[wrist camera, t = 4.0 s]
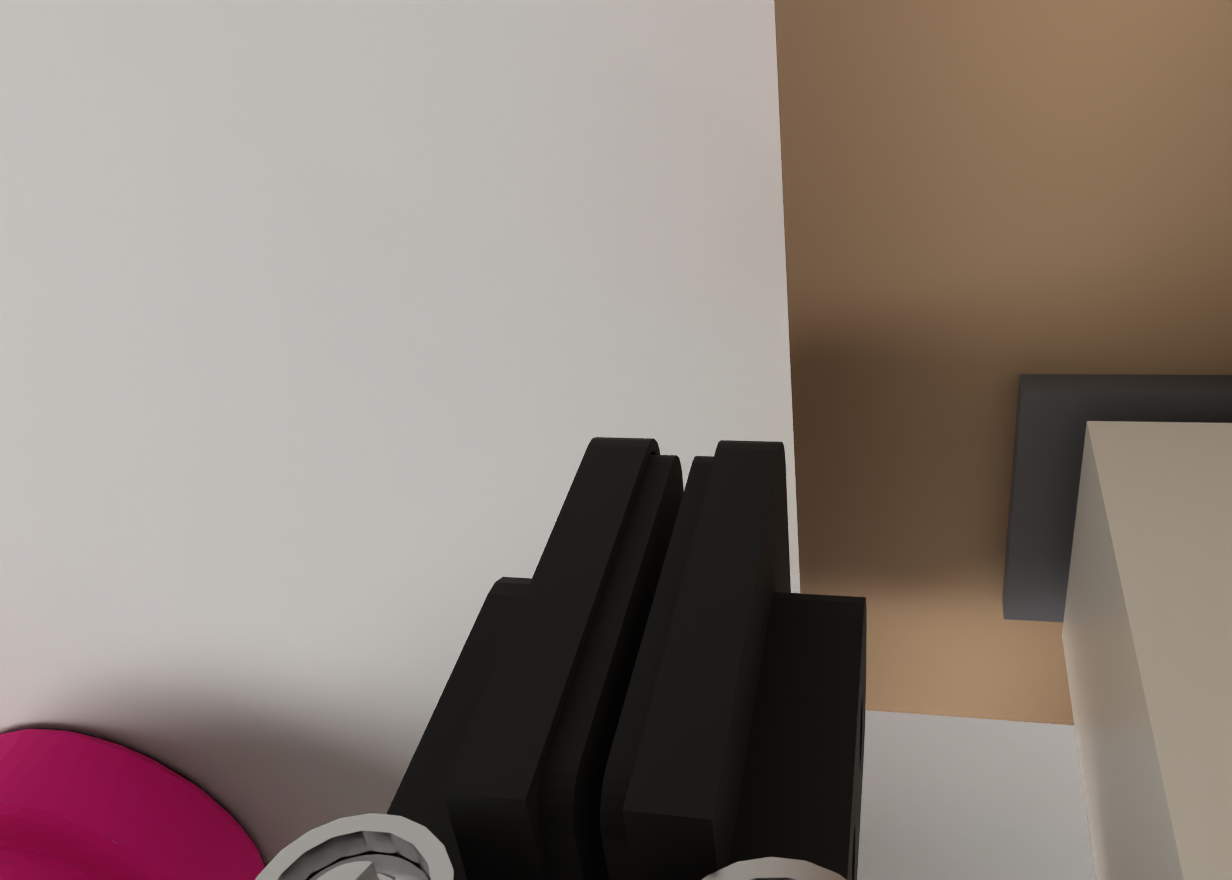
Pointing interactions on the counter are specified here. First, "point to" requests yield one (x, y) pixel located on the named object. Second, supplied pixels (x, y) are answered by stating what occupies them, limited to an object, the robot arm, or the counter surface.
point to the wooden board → (991, 306)
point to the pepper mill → (109, 816)
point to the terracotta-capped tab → (1154, 648)
